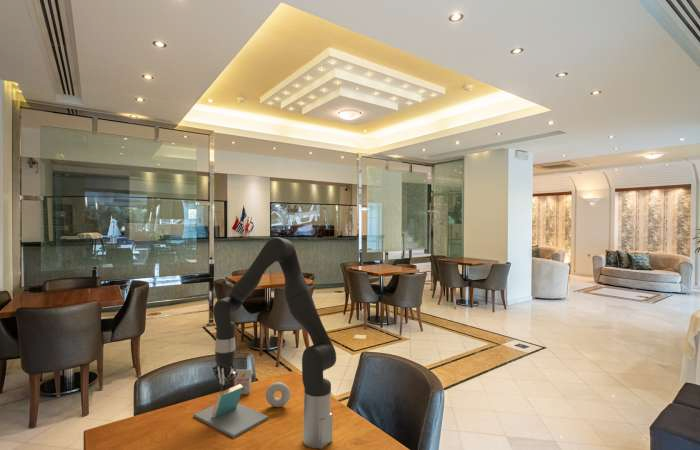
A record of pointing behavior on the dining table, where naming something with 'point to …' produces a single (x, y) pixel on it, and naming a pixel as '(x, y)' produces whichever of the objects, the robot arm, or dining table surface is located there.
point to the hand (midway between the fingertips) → (224, 393)
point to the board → (232, 419)
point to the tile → (227, 400)
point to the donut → (272, 399)
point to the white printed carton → (243, 380)
